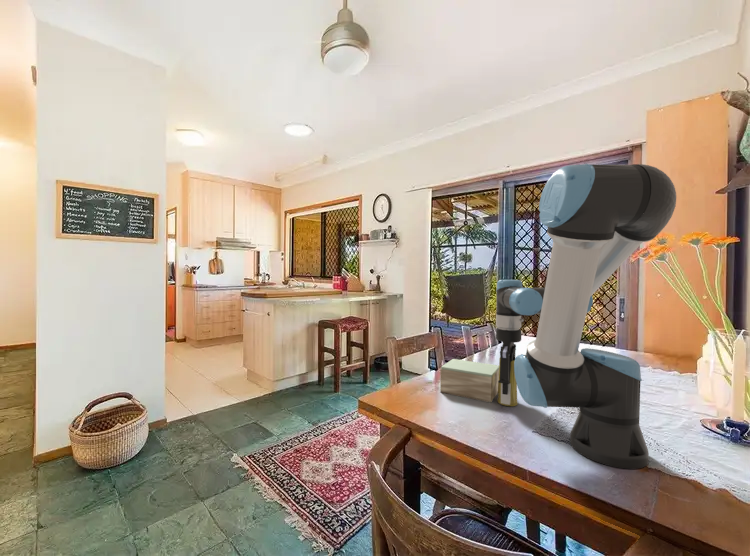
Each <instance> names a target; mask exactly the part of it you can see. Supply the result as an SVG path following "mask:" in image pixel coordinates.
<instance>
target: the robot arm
mask: <svg viewBox="0 0 750 556" xmlns="http://www.w3.org/2000/svg"><path fill="white" fill-rule="evenodd" d="M676 205H677V191H676V188H675V184H674V183H673V181H672V179H671V178H670V177H669V175H668V174H667V173H665V172H664V171H663V170H661V169H659V167H655V166H654V165H653V166H652V165H648V164H642V163H641V164H640V163H637V164H635V163H634V164H589V163H585V164H584V163H583V164H574V165H565V166H563V167H560V168H558V169H557V170H556V171H555V172H553V174H552V175H551V177H549V179H548V180H547V181H546V183H545V185H544V187H543V189H542V192H541V195H540V199H539V205H538V211H539V212H540V213H539V215H538V217H539V220H540V222H541V224H542V225H544V226H545V227H546V228H547V230H546V234H547V235H548V236H549V237H550V239H551V240H552V242H553V243H552V247H551V254H550V258H549V265H548V270H547V275H546V279H545V285H544V286H545V287H523V282H522V280H520V279H499V280H498V281H497V282H496V290H495V292H496V314H495V326H496V329H495V339H496V340H497V341H499V342H502V346H500V351H499V358H500V380H499V381H498V383H501V403H502V404H507V405H510V391H511V383H510V371H511V362H512V361H513V359H514V358H515V361H514V372H515V379H516V383H517V390H518V392H519V394H520V396H521V398H522V400H524V402H525V403H526V404H527V405H528V406H532V407H539V408H541V407H542V408H544V409H546V408H551V407H552V408H578V409H579V411H578V414H577V416H576V419H575V422H574V424H573V426H572V429H571V431H570V438H569V439H570V440H569V442H570V445H571V447H572V448H573V449H574V451H576V452H577V453H579V455H582V456H584V457H585V458H587V459H589V460H591V461H594V462H596V463H598V464H602V465H606V466H609V467H614V468H620V469H628V470H629V469H630V470H634V469H635V470H636V469H642V468H645V467H646V466H648V464H649V450H648V449H649V448H648V447H647V443H646V441H645V438H644V435H643V433H642V429H641V425H640V414H641V413H640V408H641V382H642V376H641V375H642V373H641V365H640V363H639V362H638V361H637V360H636V359H635V358H632V357H629V356H626V355H624V354H620V353H615V352H611V351H607V350H601V349H597V348H587V347H586V348H582V349H580V350H579V348H580V343H581V339H582V334H583V330H584V325H585V322H586V317H587V314H588V313H590V311H591V310H592V306H593V304H594V298H593V295H594V293H596V291H598V289H599V288H601V286H602V285H604V283H606V281H608V279H609V278H610V277H611V276H612V275H613V273H615V272H616V271H617V270H618V269H619V267H620V266H621V265H623V263H625V261H626V260H627V259H628V258H629V257H630V256H631V255H632V254H633V253H634V252H635V251H636V250H637V248H639V247H640V246H641V244H643V243H647V242H650V241H653V240H654V239H655V238H656V237H657V236H658V235H659V234H660V233H661V232H662V231H663V230H664V229H665V227H666V226H667V225H668V223H669V222H670V220H671V219H672V217H673V214H674V212H675V209H676ZM534 315H539V319H538V325H537V326H538V327H537V332H536V336H535V337H536V338H535V340H532V341H531V342H529V343H528V345H527V346H526V347H527V348H526V353H525V354H522V353H521V354H518V355H517V356H516V350H517V343H520V342H521V341H522V330H521V328H522V323H523V322H524V321H525V320H524V318H522V316H534Z"/></svg>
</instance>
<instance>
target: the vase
mask: <svg viewBox="0 0 750 556" xmlns="http://www.w3.org/2000/svg"><path fill="white" fill-rule="evenodd" d="M515 358H516V357H515ZM515 358H514V359H513V361H512V362H511V371H510V383H511V391H510V405H507V404H502V403H501V383H498V393H497V399H496V400H497V403H498V404H499V405H500V406H504V407H516V406H518V403H519V402H518V387H517V383H516V379H515V372H514V361H515ZM498 365H499V380H500V357H499V363H498Z"/></svg>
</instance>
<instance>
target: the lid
mask: <svg viewBox="0 0 750 556" xmlns="http://www.w3.org/2000/svg"><path fill="white" fill-rule="evenodd" d="M441 369H444V370H450V371H456V372H462V373H469V374H475V375H481V376H487V377H493V375H494V374H495V373H496V372H497V371H498V370H499V364H491V363H485V362H484V363H483V362H478V361H477V362H476V361H470V360H464V359H457V358H456V359H455V358H452V359H450V360H449V361H448V362H446V363H444V364H443V365H442V366H440V370H441Z"/></svg>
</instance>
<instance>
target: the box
mask: <svg viewBox="0 0 750 556" xmlns="http://www.w3.org/2000/svg"><path fill="white" fill-rule="evenodd" d="M498 381H499V370H498V371H497V372H496V373H495V374H494V375H493V377H487V376H481V375H475V374H469V373H462V372H456V371H450V370H444V369H441V368H440V389H439V391H440V392H439V393H442V394H447V395H452V396H458V397H461V398H468V399H473V400H477V401H481V402H487V403H492V402H493V401H494V399H495V397H496V396H498Z"/></svg>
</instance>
